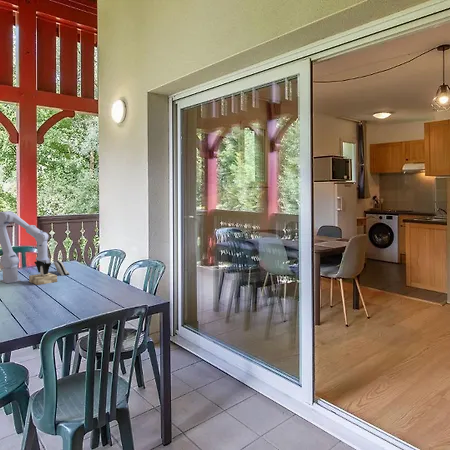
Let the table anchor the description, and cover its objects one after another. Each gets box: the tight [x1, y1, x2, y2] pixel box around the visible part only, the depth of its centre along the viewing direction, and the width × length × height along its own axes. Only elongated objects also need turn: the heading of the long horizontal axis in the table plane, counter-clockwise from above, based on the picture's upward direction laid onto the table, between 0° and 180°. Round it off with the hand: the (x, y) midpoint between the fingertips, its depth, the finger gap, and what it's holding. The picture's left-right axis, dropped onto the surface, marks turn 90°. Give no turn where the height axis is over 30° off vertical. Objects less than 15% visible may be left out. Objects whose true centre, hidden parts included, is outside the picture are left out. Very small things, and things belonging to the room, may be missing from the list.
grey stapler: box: [53, 260, 71, 276], centre depth 261 cm, size 17×5×10 cm, turn 35°
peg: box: [39, 266, 46, 277], centre depth 235 cm, size 3×3×10 cm
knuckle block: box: [28, 272, 58, 286], centre depth 236 cm, size 12×12×4 cm
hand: (43, 273), depth 235 cm, fingers open, 7 cm apart
